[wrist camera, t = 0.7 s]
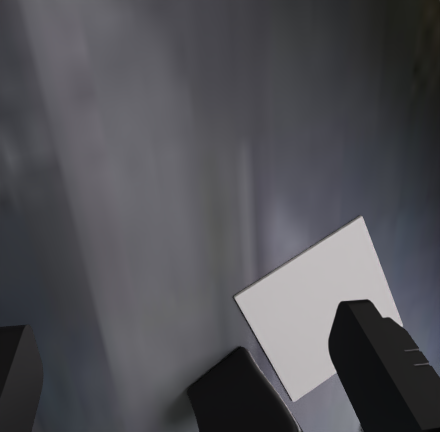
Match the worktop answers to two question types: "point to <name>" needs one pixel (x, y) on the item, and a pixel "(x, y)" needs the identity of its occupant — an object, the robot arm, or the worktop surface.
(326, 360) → the mat
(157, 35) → the worktop surface
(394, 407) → the robot arm
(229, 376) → the battery charger
